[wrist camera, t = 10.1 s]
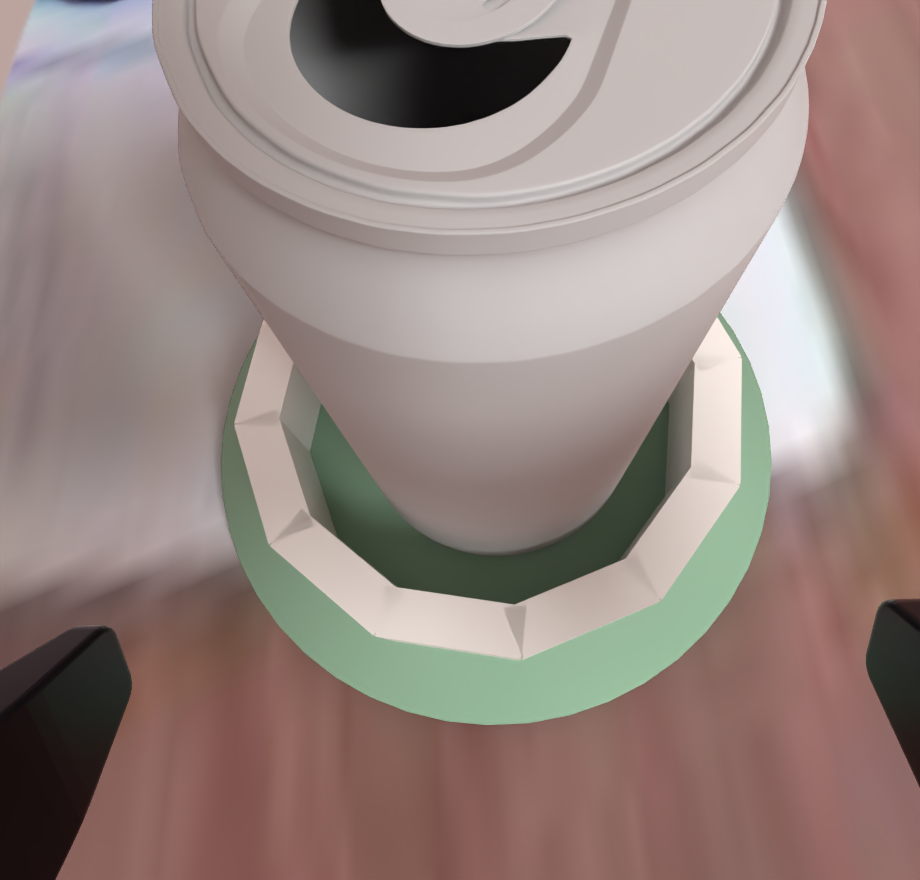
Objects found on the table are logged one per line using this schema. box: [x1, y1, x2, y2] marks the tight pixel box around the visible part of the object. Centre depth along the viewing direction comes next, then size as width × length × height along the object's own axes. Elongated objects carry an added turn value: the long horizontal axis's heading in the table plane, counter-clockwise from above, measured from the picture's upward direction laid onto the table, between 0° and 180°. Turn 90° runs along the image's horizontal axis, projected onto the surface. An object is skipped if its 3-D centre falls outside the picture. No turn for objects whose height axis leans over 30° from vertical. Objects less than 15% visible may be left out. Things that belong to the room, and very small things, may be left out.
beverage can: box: [152, 0, 827, 556], centre depth 11 cm, size 6×6×12 cm
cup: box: [221, 313, 771, 725], centre depth 16 cm, size 14×14×3 cm
